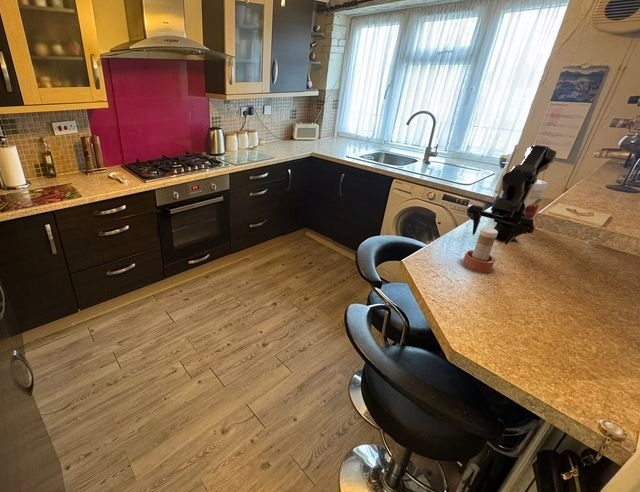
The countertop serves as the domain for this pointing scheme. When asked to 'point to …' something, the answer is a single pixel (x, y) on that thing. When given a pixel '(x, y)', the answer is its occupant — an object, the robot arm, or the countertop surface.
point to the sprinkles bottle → (484, 244)
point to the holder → (477, 263)
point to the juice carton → (534, 198)
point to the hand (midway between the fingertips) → (488, 239)
